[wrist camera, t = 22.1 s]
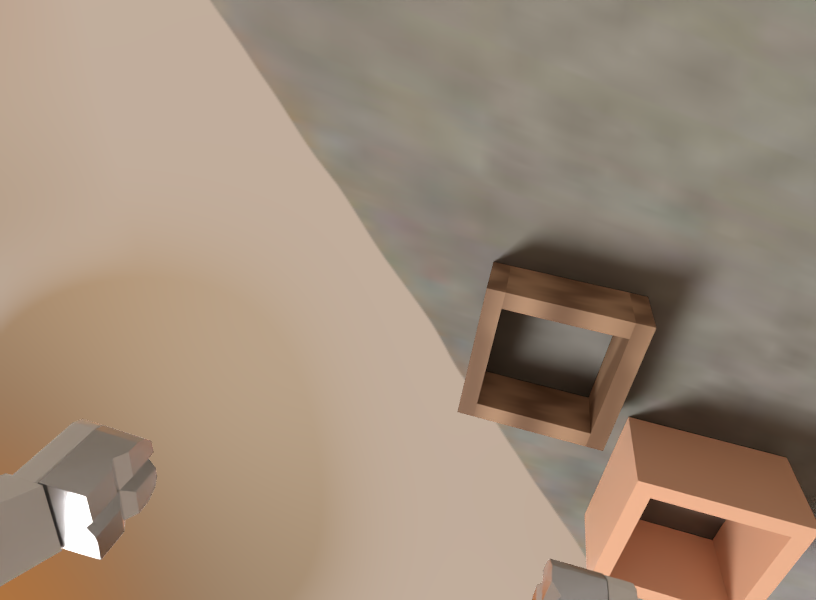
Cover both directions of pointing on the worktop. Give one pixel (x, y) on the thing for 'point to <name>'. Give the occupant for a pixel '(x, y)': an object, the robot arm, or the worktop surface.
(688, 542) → the stand
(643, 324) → the block
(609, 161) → the worktop surface
